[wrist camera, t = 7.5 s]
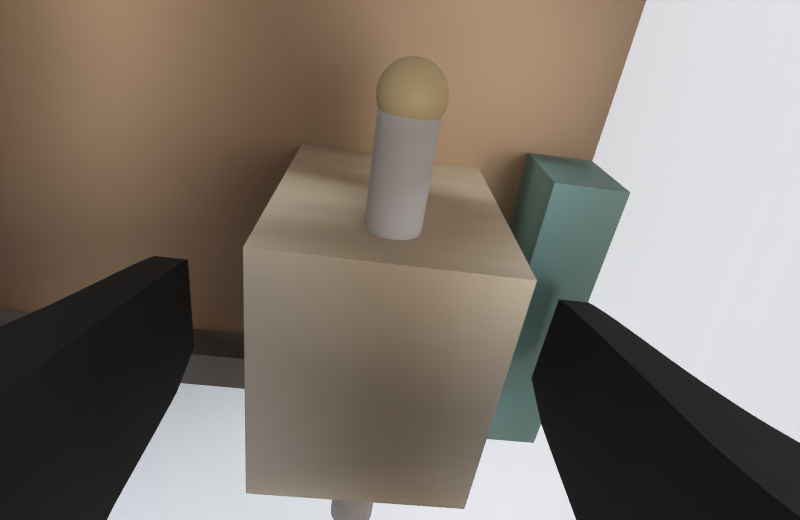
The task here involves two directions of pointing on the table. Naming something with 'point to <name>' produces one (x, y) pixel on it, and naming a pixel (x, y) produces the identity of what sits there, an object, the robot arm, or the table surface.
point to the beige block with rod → (379, 315)
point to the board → (291, 140)
